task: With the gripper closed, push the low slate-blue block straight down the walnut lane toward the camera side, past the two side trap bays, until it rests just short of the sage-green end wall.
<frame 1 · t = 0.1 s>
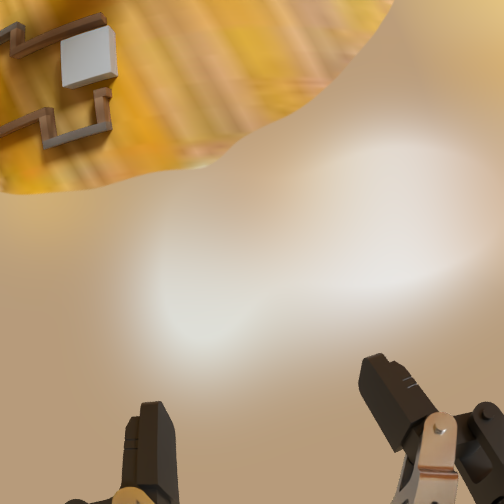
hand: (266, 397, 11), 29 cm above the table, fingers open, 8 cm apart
block: (93, 60, 27), on the table
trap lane: (31, 83, 26), on the table
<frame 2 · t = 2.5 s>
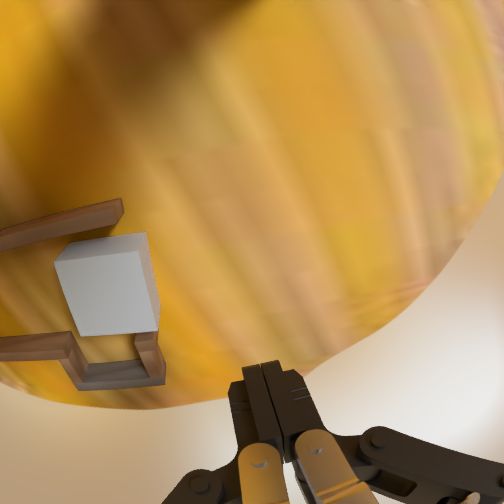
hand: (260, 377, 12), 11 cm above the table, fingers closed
block: (115, 273, 21), on the table
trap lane: (24, 290, 20), on the table
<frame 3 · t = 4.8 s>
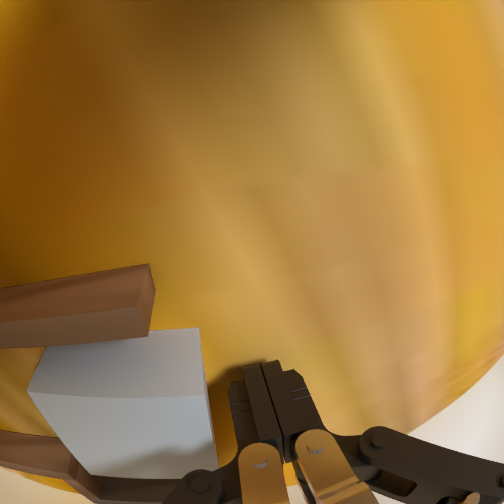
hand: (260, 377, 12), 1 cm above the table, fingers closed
block: (138, 381, 12), on the table, touching gripper
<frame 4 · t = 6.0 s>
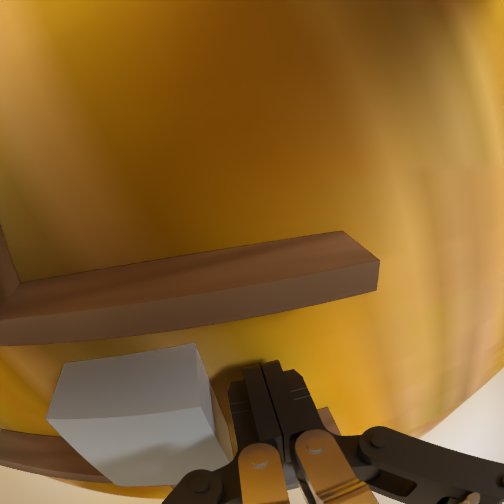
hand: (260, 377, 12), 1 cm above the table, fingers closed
block: (150, 395, 12), on the table
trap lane: (91, 386, 11), on the table
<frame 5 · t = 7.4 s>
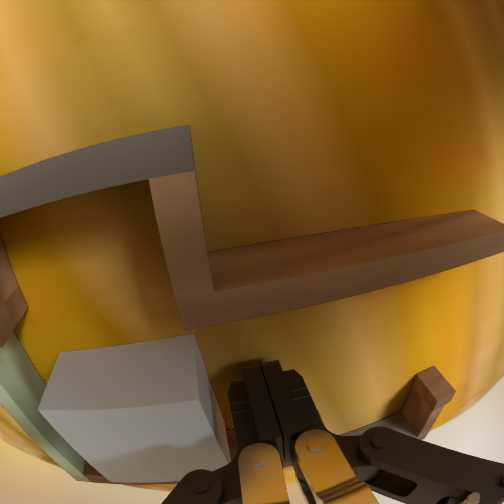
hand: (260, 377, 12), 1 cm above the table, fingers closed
block: (146, 389, 12), on the table, touching gripper
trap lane: (254, 367, 12), on the table
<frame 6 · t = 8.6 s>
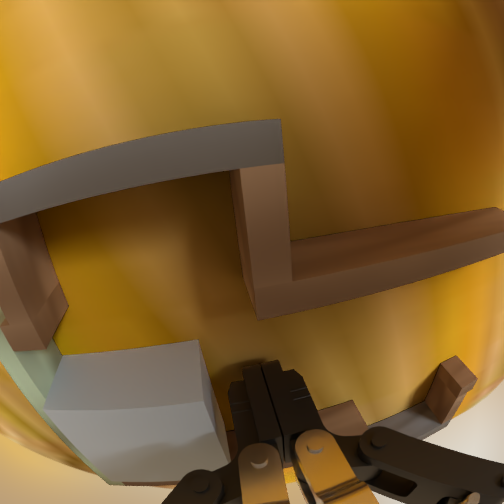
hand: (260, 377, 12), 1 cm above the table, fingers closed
block: (148, 390, 12), on the table
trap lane: (301, 358, 12), on the table
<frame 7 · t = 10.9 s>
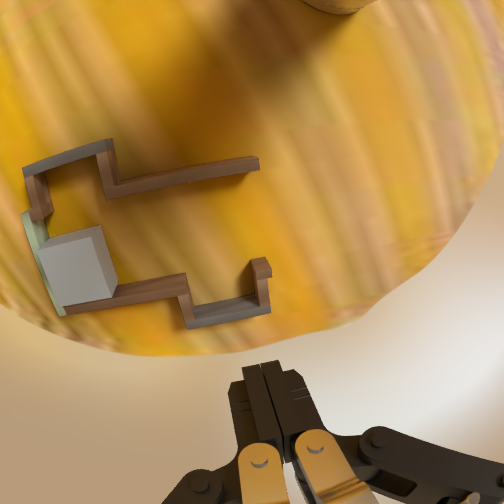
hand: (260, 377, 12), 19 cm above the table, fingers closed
block: (84, 258, 27), on the table
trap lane: (144, 235, 27), on the table
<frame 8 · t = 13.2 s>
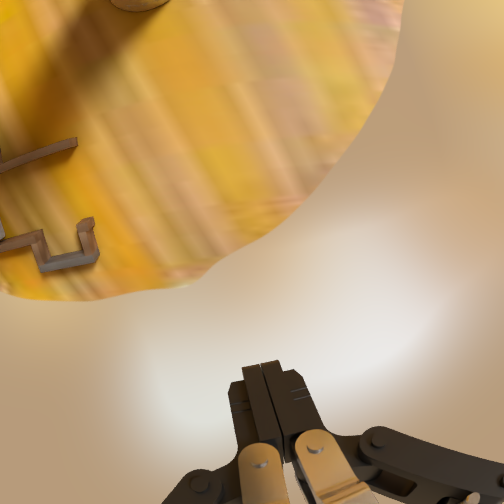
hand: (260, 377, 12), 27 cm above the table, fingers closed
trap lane: (16, 201, 30), on the table
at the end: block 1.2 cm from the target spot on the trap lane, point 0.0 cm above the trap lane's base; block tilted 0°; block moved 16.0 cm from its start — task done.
